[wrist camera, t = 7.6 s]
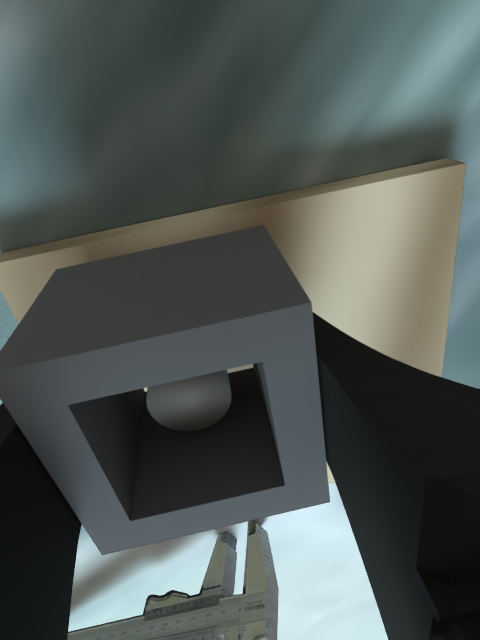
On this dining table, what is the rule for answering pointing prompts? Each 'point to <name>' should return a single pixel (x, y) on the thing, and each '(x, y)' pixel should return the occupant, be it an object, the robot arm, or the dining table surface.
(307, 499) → the collar
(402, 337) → the post board
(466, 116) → the dining table surface
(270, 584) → the caliper
